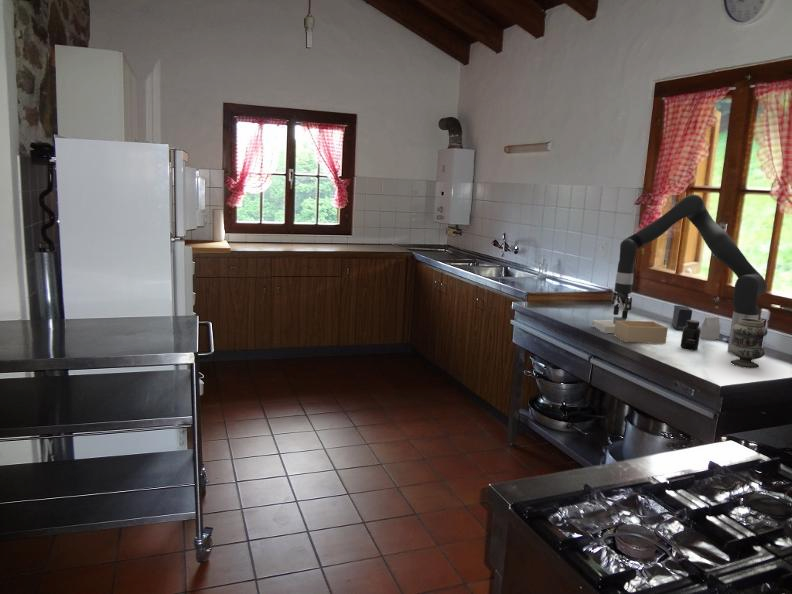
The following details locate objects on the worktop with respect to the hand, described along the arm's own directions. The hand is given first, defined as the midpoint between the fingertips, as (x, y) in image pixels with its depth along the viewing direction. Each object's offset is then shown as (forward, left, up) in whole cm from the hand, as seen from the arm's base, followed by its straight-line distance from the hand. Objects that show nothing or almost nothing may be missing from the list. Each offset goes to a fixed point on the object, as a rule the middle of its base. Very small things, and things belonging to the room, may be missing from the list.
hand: (619, 316), depth 292 cm
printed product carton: (-12, -38, -7) cm, 40 cm away
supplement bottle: (-30, -17, -7) cm, 35 cm away
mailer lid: (0, 0, -7) cm, 7 cm away
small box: (+8, -36, -7) cm, 38 cm away
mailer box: (-16, -2, -7) cm, 17 cm away
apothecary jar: (-53, -26, -7) cm, 59 cm away
